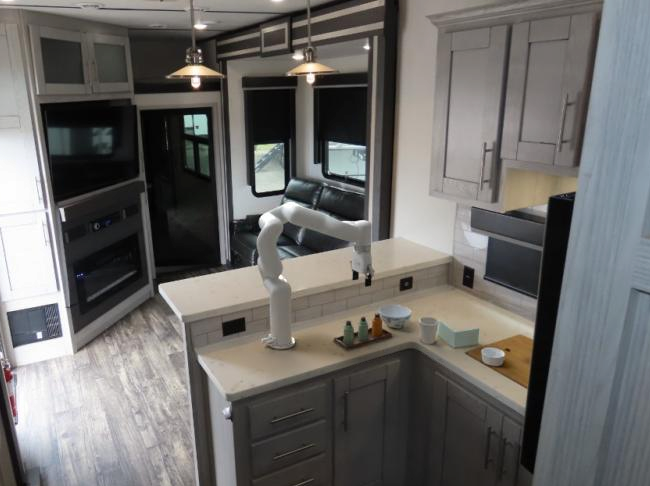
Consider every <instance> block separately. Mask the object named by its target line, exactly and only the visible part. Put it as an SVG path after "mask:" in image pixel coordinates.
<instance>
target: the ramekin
mask: <svg viewBox="0 0 650 486" xmlns="http://www.w3.org/2000/svg"><path fill="white" fill-rule="evenodd" d="M480 353H481V361H482V363H484V364H485V365H487V366H491V367H499V366H502V365H503V364H504V360H505V356H506V353H505V351H503V350H501V349H499V348H496V347H484V348H482V349H481V351H480Z"/></svg>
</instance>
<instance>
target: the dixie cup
mask: <svg viewBox="0 0 650 486" xmlns="http://www.w3.org/2000/svg"><path fill="white" fill-rule="evenodd" d="M418 321H419V331H420V340H421V342H422V343H423V344H426V345H433V344H434V343H435V342H436V336H437V332H438V328H439V321H440V320H438V319H437V318H435V317H431V316H423V317H421V318H419V319H418Z"/></svg>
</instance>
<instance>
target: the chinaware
mask: <svg viewBox="0 0 650 486" xmlns="http://www.w3.org/2000/svg"><path fill="white" fill-rule="evenodd" d="M378 313H379V314H380V316H381V319H382V322H384V323H385V324H386V325H387V326H388V327H389V328H392V329H397V330H398V329H401V328H403V326H404V325H406V324H407V323H408V322H409V320H410V319H411V316H412V310H411V309H410V308H409V307H406V306H404V305H399V304H388V305H383V306H381V307H379V309H378Z"/></svg>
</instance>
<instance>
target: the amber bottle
mask: <svg viewBox="0 0 650 486" xmlns="http://www.w3.org/2000/svg"><path fill="white" fill-rule="evenodd" d="M371 327H372V335H373V336H375V337H380V336H382V328H383V320H382V318H381V316H380V313H379V312H375V313H374V316H373V318H372V320H371Z"/></svg>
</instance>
